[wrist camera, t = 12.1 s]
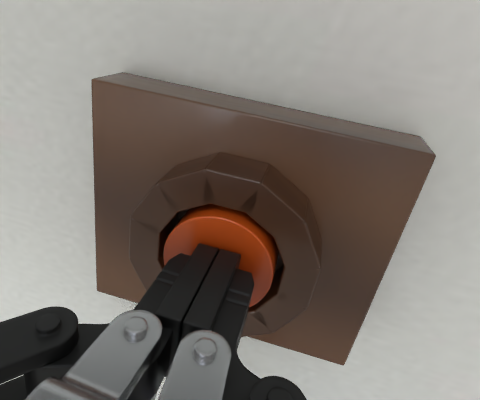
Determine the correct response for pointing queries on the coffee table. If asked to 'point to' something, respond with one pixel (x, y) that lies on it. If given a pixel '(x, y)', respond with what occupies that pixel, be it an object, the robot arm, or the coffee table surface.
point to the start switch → (254, 199)
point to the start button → (227, 242)
